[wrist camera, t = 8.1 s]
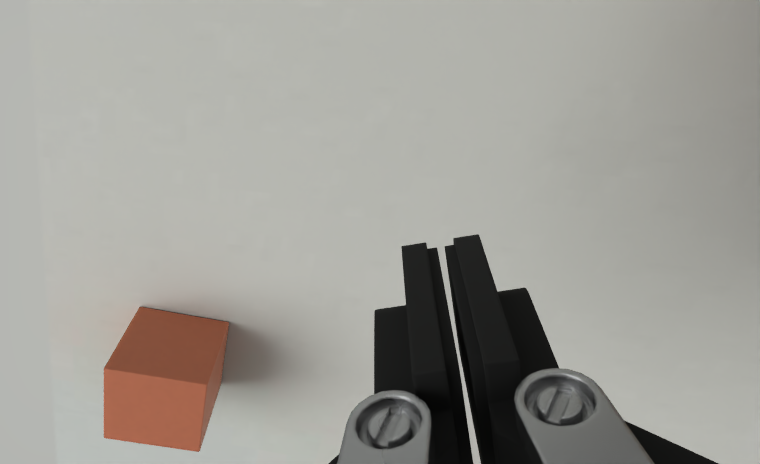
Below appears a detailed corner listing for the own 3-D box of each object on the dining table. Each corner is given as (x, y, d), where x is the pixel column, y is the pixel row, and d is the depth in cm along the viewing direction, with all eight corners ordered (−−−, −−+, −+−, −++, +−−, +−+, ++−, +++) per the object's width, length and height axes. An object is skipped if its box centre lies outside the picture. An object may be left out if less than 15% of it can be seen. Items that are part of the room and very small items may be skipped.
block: (139, 306, 29) (103, 368, 25) (229, 321, 30) (207, 385, 26) (137, 371, 31) (103, 438, 27) (220, 385, 32) (199, 452, 28)
